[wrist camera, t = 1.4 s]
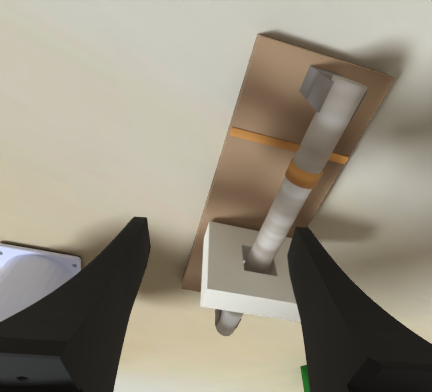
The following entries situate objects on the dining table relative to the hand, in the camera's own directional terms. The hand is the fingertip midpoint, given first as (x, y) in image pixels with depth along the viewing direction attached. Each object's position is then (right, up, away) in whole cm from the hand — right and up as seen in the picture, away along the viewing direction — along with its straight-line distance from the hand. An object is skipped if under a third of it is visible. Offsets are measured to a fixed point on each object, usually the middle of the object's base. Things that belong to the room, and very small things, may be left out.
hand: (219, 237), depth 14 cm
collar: (+3, -2, +11) cm, 12 cm away
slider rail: (+4, +2, +11) cm, 12 cm away
